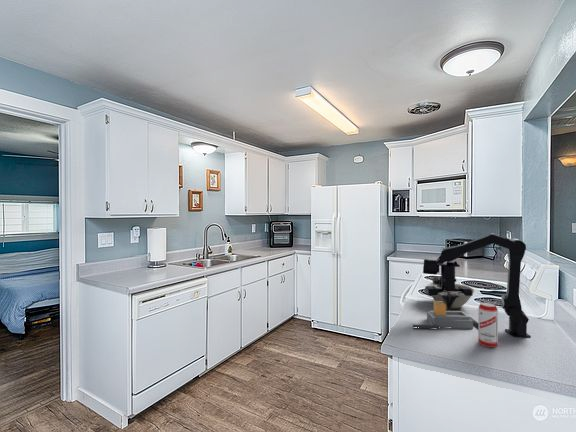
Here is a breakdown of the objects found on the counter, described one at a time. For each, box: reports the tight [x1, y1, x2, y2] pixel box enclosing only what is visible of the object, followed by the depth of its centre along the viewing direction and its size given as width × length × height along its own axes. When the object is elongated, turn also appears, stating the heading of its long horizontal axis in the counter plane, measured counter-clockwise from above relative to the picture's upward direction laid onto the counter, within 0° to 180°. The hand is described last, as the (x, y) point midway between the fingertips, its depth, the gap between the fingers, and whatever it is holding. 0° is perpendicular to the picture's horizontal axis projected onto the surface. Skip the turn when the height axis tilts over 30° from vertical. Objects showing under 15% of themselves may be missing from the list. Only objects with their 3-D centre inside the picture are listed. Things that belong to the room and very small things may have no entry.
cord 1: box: [412, 324, 440, 330], centre depth 132 cm, size 2×11×2 cm, turn 83°
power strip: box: [426, 310, 474, 330], centre depth 137 cm, size 10×16×5 cm, turn 83°
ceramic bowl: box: [426, 282, 475, 309], centre depth 159 cm, size 22×23×10 cm
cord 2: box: [469, 316, 478, 328], centre depth 136 cm, size 11×2×2 cm, turn 173°
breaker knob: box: [433, 301, 447, 315], centre depth 137 cm, size 4×4×6 cm
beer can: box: [477, 301, 499, 348], centre depth 116 cm, size 6×6×16 cm
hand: (448, 309), depth 137 cm, fingers closed
